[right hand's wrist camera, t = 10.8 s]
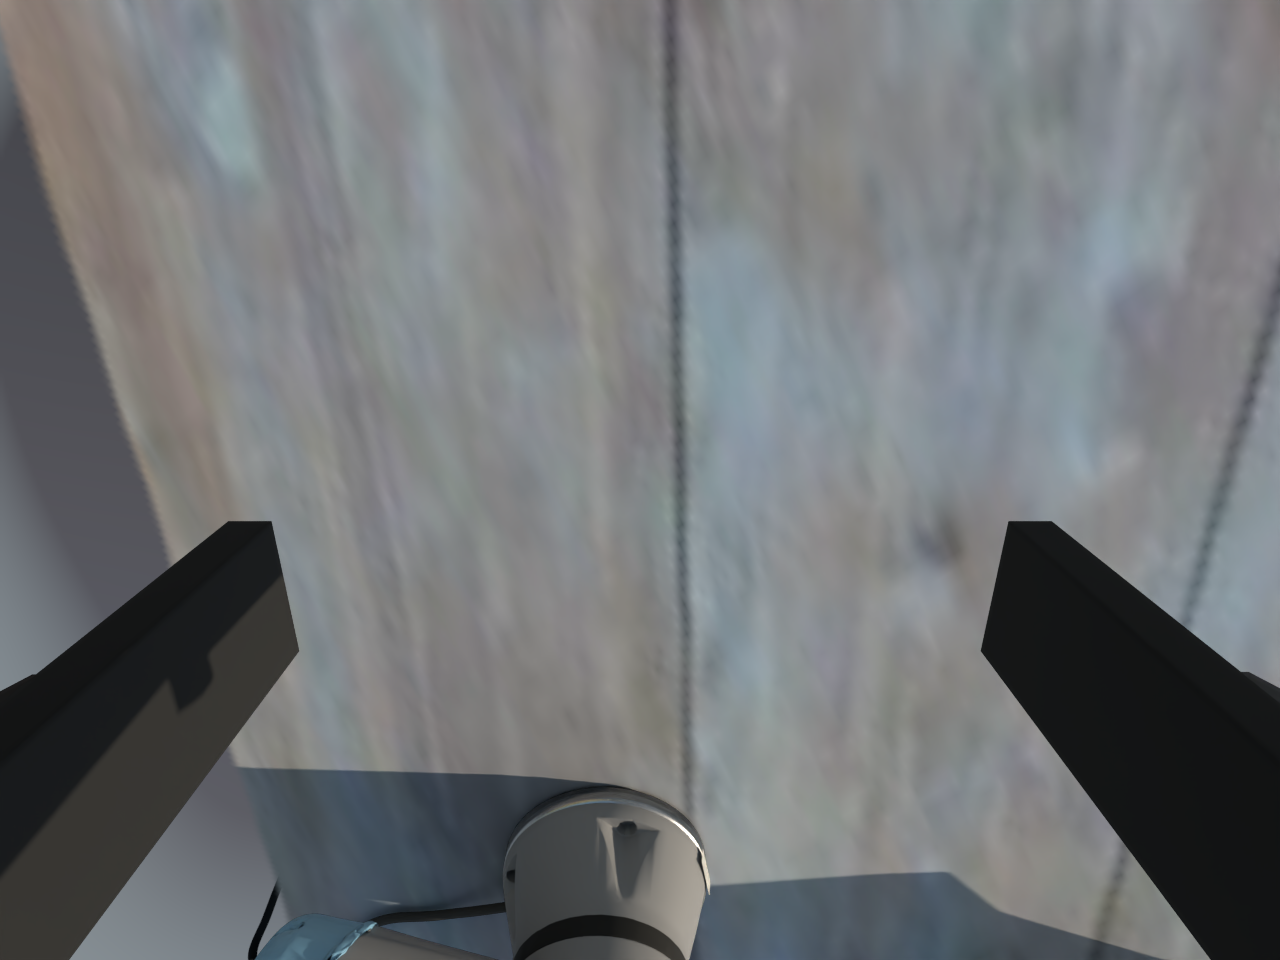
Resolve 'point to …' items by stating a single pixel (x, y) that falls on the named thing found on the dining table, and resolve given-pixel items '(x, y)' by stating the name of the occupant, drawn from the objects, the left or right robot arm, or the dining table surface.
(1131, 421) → the dining table surface
